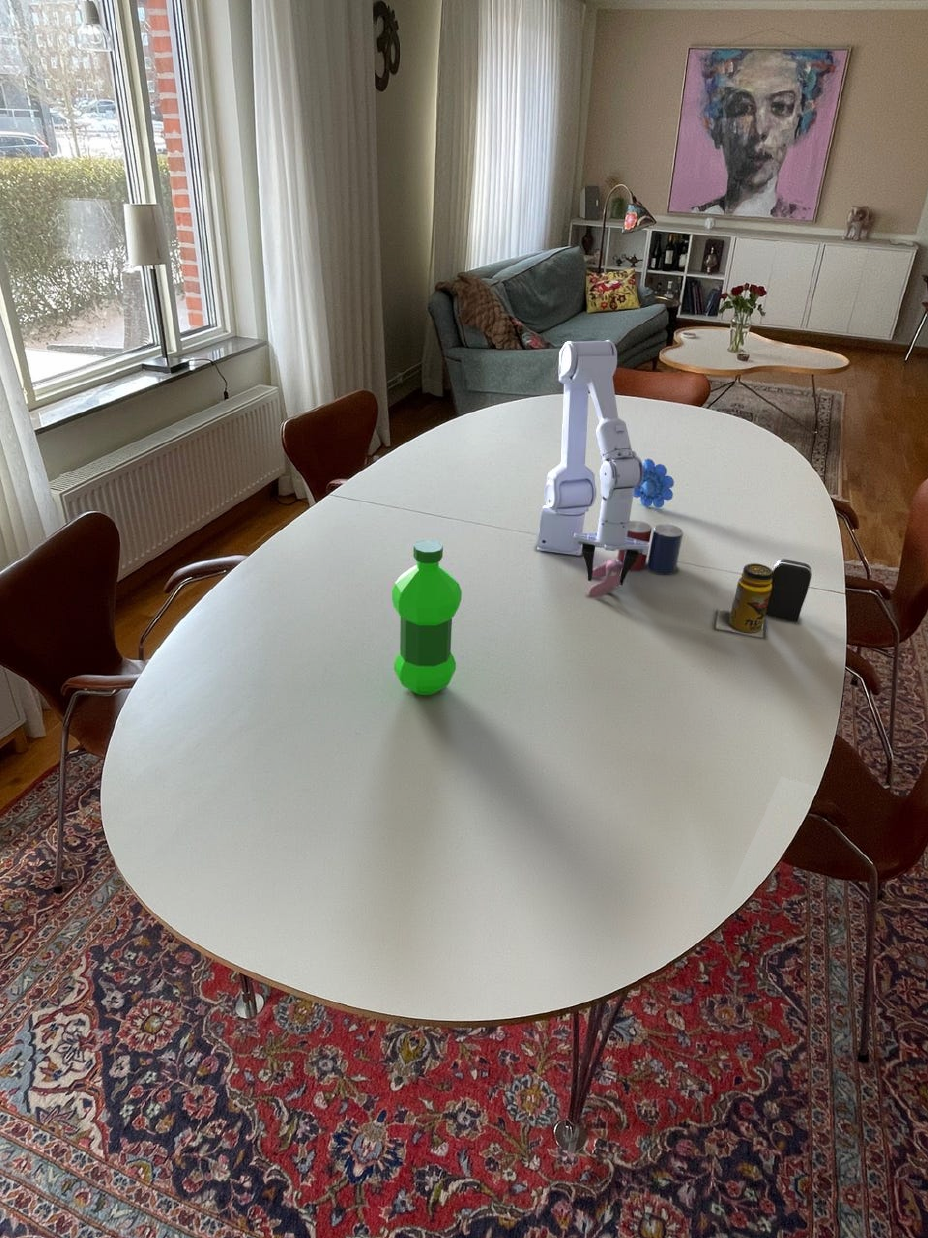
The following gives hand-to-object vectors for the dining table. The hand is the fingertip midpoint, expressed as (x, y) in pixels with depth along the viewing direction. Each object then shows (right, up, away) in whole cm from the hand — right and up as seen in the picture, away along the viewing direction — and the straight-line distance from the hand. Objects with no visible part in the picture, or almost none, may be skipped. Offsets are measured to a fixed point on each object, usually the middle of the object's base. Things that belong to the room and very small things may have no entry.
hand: (605, 581), depth 166 cm
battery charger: (+33, -7, -5) cm, 34 cm away
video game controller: (0, -2, +1) cm, 2 cm away
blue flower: (+17, +20, +39) cm, 47 cm away
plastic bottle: (-35, -19, -31) cm, 50 cm away
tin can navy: (+14, +3, +10) cm, 17 cm away
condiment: (+24, -9, -9) cm, 27 cm away
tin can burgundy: (+7, +4, +11) cm, 14 cm away
